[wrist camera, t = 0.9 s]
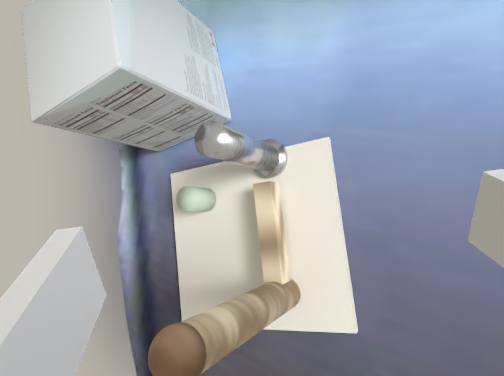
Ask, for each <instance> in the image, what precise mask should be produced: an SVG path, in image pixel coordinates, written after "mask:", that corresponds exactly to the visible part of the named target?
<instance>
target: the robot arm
mask: <svg viewBox="0 0 504 376" xmlns="http://www.w3.org/2000/svg"><path fill="white" fill-rule="evenodd" d="M468 241H469V242H470V243H472V244H473V245H474V246H476V247H477V248H478V249H480V250H481V251H482V252H484V253H485V254H486V255H487V256H489V257H490V258H491V259H493V260H494V261H495V262H497V263H498V264H499V265H501V266H502V267H503V268H504V169H500V170H492V171H485V172H483V174H482V178H481V183H480V187H479V192H478V196H477V201H476V205H475V210H474V214H473V219H472V223H471V228H470V232H469V237H468ZM106 296H107V295H106V292H105V289H104V286H103V284H102V281H101V278H100V275H99V272H98V270H97V267H96V264H95V261H94V258H93V255H92V253H91V250H90V247H89V244H88V242H87V239H86V236H85V233H84V230H83V228H82V226H81V227H74V228H67V229H59V230H56V231H55V232H54V233H53V235H52V236H51V237H50V238H49V240H48V241H47V242H46V243H45V244H44V246H43V247H42V248H41V249H40V251H39V252H38V253H37V254H36V255H35V257H34V258H33V259H32V260H31V262H30V263H29V264H28V265H27V267H26V268H25V269H24V270H23V271H22V273H21V274H20V275H19V277H18V278H17V279H16V280H15V281H14V283H13V284H12V285H11V286H10V287H9V289H8V290H7V291H6V292H5V294H4V295H3V296H2V297H1V299H0V376H75V374H76V371H77V369H78V366H79V364H80V361H81V359H82V356H83V354H84V351H85V349H86V346H87V343H88V341H89V339H90V336H91V334H92V331H93V329H94V326H95V323H96V321H97V319H98V316H99V314H100V311H101V309H102V306H103V304H104V301H105V299H106Z"/></svg>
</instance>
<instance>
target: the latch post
mask: <svg viewBox="0 0 504 376" xmlns="http://www.w3.org/2000/svg"><path fill="white" fill-rule="evenodd" d="M176 202H177V205H178V207H179V208H180V209H181V210H182V211H185V212H208V211H211V210H212V209H213V208H214V206H215V204H216V195H215V193H214V191H213V190H211V189H209V188H202V187H193V186H184V187H182V188H181V189H180V190H179V191H178V193H177V197H176Z"/></svg>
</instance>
